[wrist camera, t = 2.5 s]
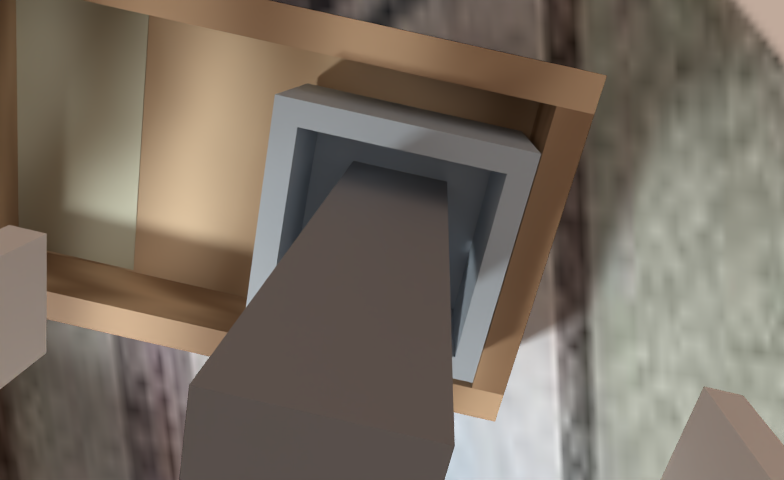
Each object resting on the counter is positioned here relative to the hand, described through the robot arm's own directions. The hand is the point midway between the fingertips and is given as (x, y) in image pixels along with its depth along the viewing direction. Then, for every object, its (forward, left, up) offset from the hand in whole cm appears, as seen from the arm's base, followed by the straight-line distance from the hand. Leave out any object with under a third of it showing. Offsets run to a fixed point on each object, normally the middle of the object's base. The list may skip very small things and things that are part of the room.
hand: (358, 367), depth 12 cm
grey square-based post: (0, 0, -12) cm, 12 cm away
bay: (-6, 0, -13) cm, 15 cm away
